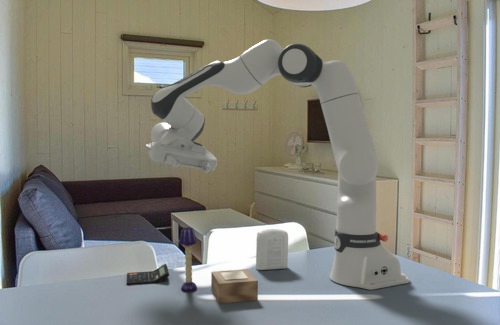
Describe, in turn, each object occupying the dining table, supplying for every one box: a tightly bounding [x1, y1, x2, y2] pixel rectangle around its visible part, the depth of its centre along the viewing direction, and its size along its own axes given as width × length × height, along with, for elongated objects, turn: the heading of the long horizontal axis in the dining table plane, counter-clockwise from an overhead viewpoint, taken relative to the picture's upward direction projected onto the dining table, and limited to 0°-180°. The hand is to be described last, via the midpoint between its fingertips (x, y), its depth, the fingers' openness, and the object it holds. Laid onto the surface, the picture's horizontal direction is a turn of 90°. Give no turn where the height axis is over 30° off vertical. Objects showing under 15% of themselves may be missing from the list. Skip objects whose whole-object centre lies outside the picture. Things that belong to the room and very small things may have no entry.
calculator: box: [126, 263, 170, 286], centre depth 130 cm, size 9×12×3 cm
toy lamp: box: [178, 226, 198, 293], centre depth 120 cm, size 5×5×17 cm
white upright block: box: [255, 228, 289, 271], centre depth 140 cm, size 10×4×12 cm, turn 107°
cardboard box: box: [210, 268, 259, 305], centre depth 117 cm, size 10×10×5 cm
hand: (192, 167), depth 124 cm, fingers open, 8 cm apart
